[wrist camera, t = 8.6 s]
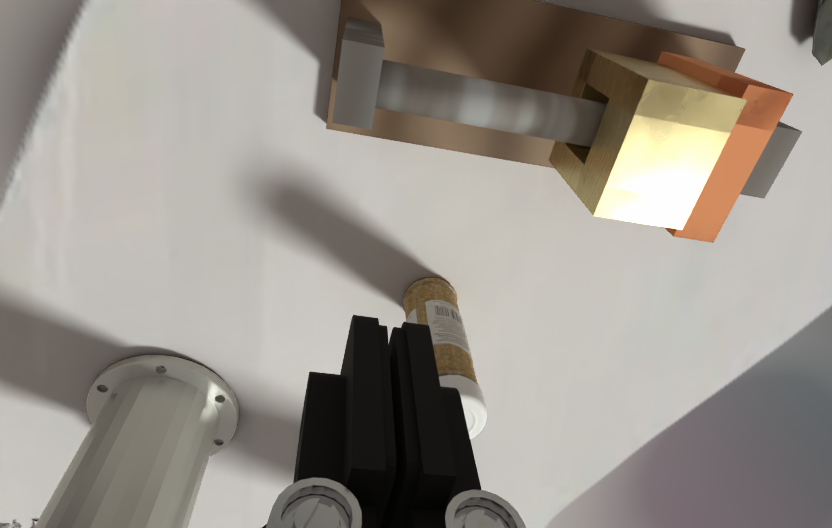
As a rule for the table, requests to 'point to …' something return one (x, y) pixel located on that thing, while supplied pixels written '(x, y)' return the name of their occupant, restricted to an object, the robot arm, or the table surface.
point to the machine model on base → (496, 76)
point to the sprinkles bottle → (448, 344)
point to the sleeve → (646, 139)
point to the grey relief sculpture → (9, 527)
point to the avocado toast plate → (823, 32)
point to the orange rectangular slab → (729, 143)
